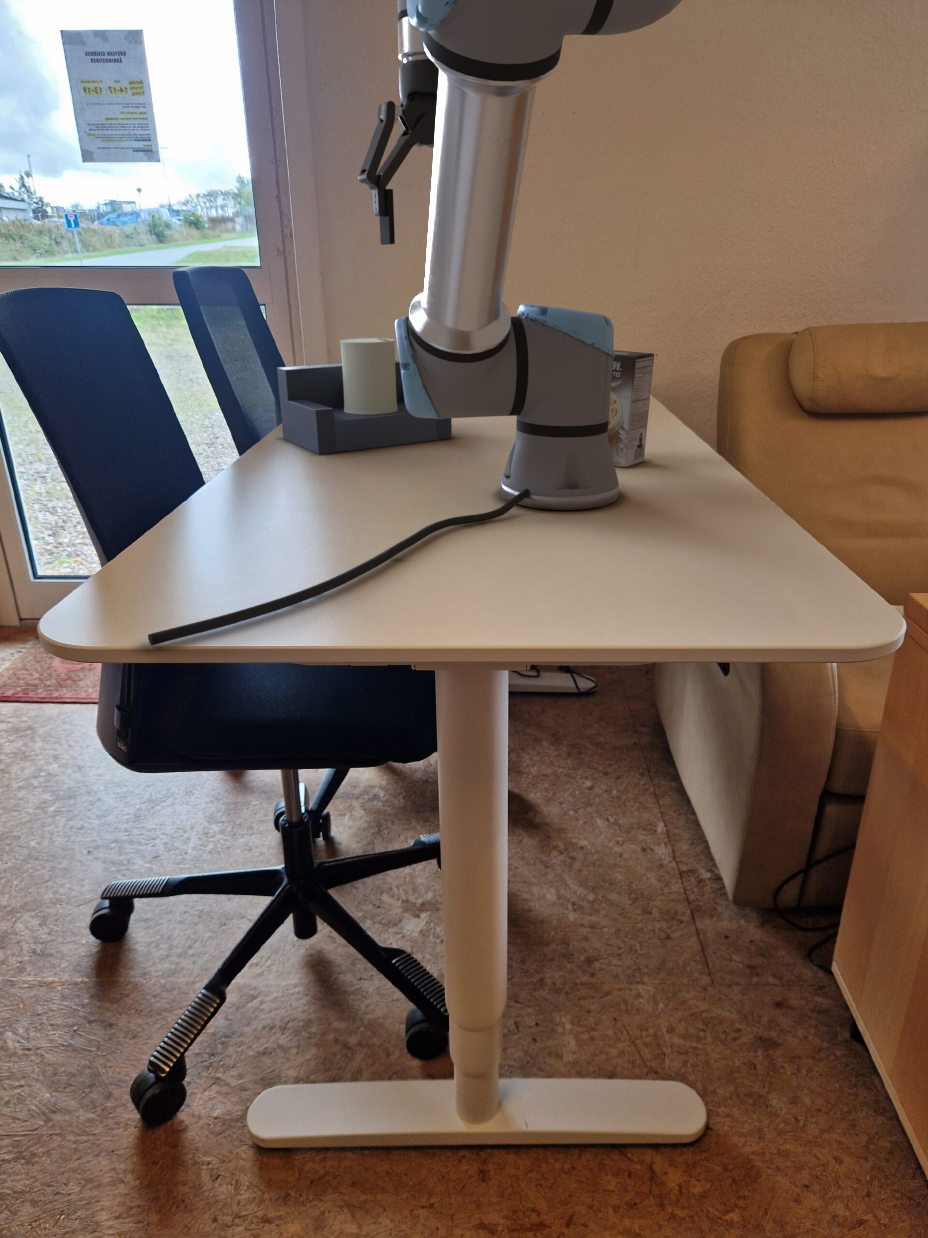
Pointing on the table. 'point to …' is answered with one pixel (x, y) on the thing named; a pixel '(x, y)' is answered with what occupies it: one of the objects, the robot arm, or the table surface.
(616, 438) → the coffee box
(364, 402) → the can
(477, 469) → the table surface
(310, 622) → the table surface
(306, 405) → the couch
